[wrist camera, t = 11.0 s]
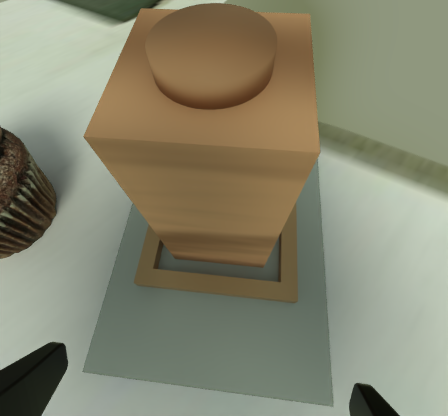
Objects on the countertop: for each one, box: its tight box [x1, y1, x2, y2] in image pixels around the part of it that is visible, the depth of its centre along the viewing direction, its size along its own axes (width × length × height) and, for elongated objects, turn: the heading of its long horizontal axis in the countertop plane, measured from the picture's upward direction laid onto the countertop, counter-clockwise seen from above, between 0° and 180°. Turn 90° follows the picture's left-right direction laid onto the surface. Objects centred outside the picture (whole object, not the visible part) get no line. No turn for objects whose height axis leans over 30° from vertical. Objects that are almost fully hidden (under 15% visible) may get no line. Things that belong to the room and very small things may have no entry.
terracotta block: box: [83, 3, 320, 268], centre depth 13 cm, size 6×6×13 cm
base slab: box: [82, 158, 333, 407], centre depth 19 cm, size 20×14×3 cm
